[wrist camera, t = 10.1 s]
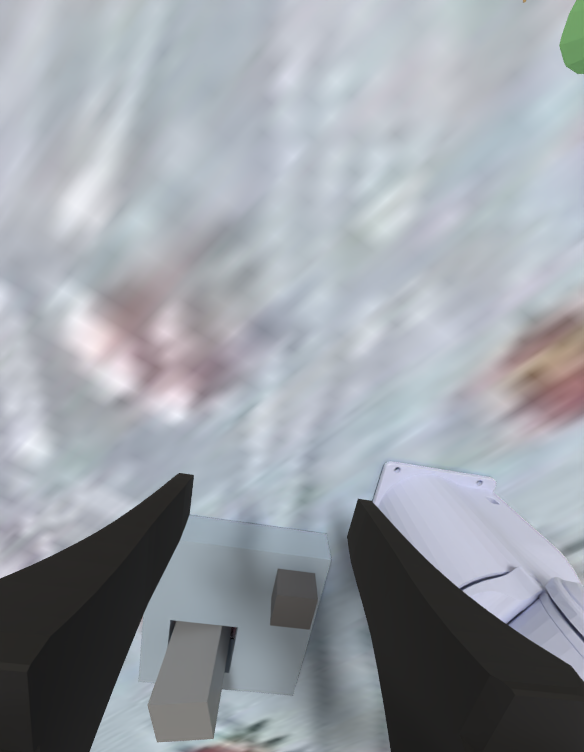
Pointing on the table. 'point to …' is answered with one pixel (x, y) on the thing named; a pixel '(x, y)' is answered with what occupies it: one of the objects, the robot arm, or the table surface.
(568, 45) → the toy pieces
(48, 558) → the robot arm
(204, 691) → the grey rectangular block
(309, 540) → the socket plate
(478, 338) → the table surface
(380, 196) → the table surface
